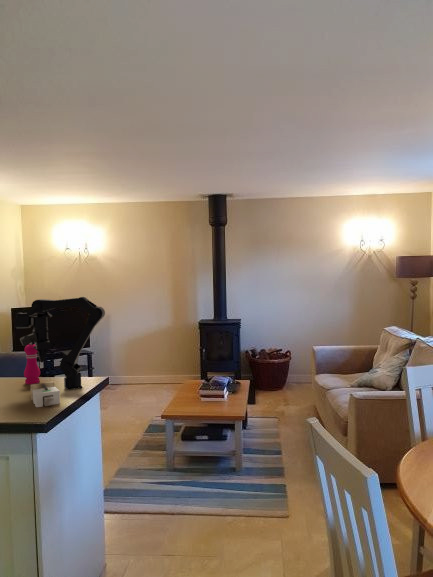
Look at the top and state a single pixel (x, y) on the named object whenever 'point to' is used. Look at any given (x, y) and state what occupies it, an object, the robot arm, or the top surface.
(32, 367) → the pepper mill
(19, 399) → the top surface
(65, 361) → the robot arm
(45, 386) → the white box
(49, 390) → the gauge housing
